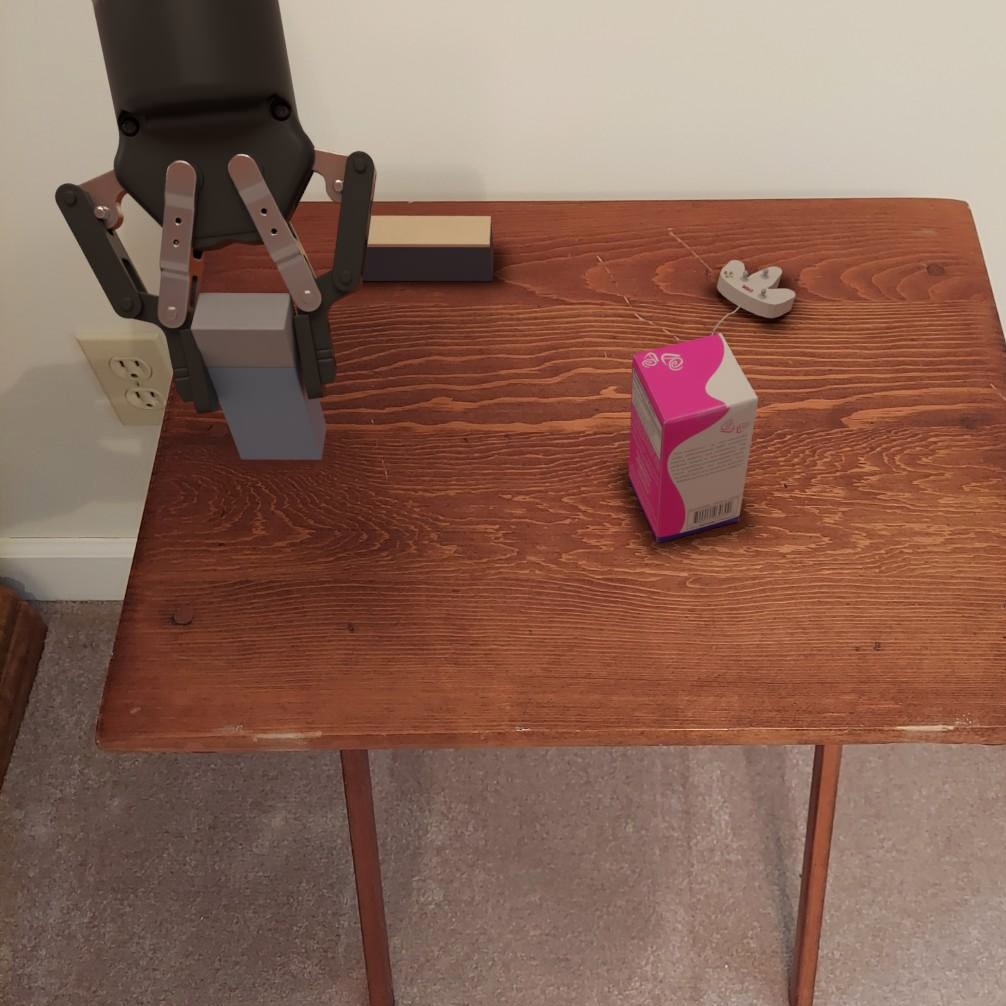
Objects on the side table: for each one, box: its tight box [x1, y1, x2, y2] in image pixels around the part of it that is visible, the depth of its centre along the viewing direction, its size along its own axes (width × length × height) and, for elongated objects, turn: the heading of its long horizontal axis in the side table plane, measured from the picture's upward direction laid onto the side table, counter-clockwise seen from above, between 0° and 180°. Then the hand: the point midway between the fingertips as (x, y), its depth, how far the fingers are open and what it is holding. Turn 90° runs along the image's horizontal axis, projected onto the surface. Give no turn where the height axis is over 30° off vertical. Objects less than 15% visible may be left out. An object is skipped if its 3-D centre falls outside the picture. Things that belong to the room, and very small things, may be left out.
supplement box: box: [628, 332, 759, 543], centre depth 71 cm, size 6×6×12 cm
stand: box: [363, 215, 495, 282], centre depth 86 cm, size 10×3×4 cm, turn 91°
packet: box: [191, 292, 328, 461], centre depth 55 cm, size 4×2×9 cm, turn 91°
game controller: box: [710, 259, 796, 335], centre depth 83 cm, size 6×12×3 cm, turn 158°
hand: (262, 403), depth 54 cm, fingers closed on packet, 4 cm apart
